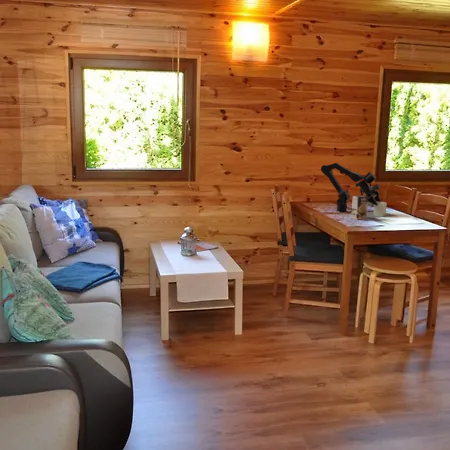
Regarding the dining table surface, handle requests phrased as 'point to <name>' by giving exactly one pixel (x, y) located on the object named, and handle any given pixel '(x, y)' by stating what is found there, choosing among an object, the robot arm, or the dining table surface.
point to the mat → (370, 214)
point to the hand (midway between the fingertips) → (379, 204)
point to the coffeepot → (365, 195)
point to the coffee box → (359, 207)
